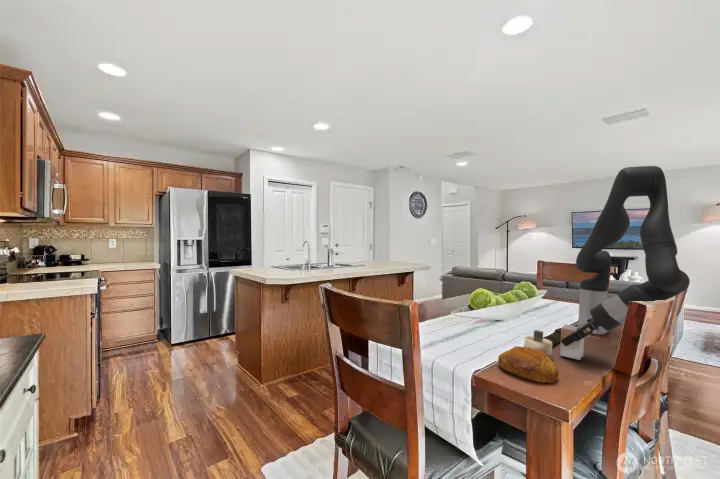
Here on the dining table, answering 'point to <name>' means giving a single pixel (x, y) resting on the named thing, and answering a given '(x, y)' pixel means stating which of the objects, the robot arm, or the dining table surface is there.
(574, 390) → the dining table surface
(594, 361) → the dining table surface
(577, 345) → the light grey block
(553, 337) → the hand tool
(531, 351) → the croissant
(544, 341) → the cream rounded block
